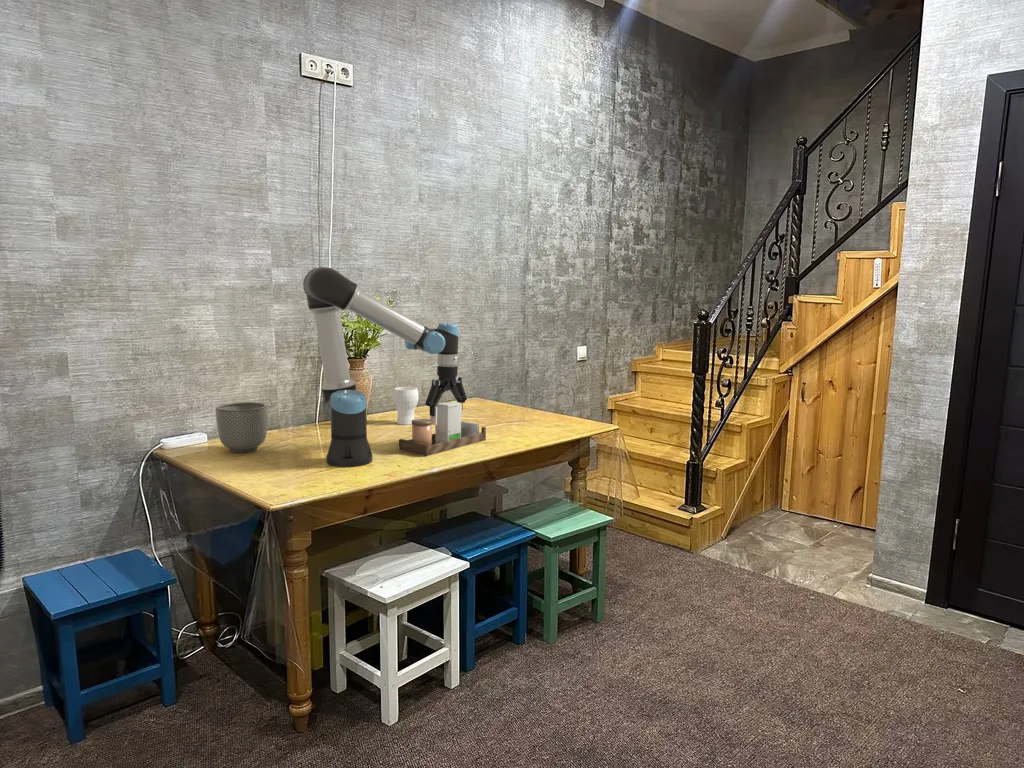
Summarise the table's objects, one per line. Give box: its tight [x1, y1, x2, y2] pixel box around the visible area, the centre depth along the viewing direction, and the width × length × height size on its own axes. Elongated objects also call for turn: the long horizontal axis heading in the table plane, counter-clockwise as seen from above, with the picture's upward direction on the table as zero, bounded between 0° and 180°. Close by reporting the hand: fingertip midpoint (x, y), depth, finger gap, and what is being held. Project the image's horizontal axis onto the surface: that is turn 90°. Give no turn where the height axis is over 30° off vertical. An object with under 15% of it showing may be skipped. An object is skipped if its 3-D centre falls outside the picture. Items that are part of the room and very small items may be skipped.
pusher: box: [461, 420, 480, 438], centre depth 275 cm, size 5×10×6 cm, turn 53°
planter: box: [215, 401, 269, 454], centre depth 249 cm, size 17×17×16 cm
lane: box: [398, 426, 487, 457], centre depth 263 cm, size 33×13×5 cm, turn 143°
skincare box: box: [434, 401, 462, 445], centre depth 264 cm, size 8×7×16 cm
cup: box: [392, 386, 419, 426], centre depth 300 cm, size 11×11×15 cm
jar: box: [411, 418, 433, 446], centre depth 253 cm, size 7×7×11 cm
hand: (446, 422), depth 264 cm, fingers open, 13 cm apart
